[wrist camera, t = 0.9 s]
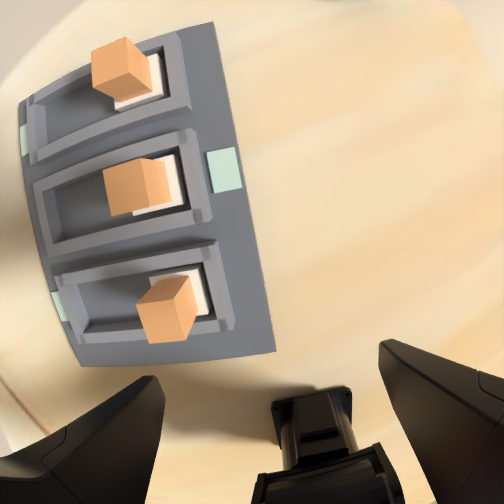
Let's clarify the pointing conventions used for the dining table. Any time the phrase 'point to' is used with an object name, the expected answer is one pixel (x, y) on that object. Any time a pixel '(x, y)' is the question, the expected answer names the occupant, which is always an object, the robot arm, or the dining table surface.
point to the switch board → (151, 223)
